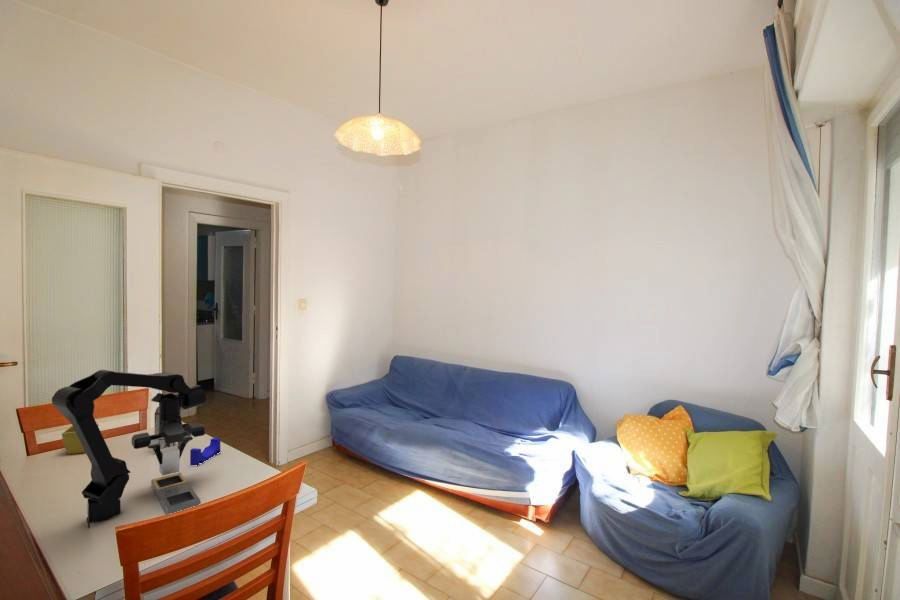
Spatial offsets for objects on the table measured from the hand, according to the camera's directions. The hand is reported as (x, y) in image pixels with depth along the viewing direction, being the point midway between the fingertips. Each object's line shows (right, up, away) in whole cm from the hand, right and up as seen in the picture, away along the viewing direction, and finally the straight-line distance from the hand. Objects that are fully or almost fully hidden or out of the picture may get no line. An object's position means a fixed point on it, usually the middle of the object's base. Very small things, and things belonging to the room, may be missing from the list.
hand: (169, 461), depth 133 cm
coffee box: (-23, -8, +32) cm, 41 cm away
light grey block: (0, -3, 0) cm, 3 cm away
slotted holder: (+5, -10, -5) cm, 12 cm away
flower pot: (-53, -7, +28) cm, 61 cm away
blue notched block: (-3, -9, +25) cm, 26 cm away
